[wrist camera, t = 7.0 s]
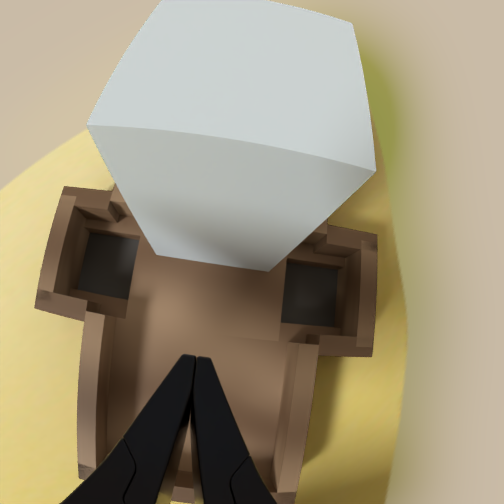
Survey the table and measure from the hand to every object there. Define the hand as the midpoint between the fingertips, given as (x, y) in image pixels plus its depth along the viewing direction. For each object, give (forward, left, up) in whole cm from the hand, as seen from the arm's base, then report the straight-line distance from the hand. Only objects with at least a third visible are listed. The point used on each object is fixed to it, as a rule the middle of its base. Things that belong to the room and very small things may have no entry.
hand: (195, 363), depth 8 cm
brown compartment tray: (0, -2, -8) cm, 8 cm away
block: (+1, -7, -7) cm, 10 cm away
